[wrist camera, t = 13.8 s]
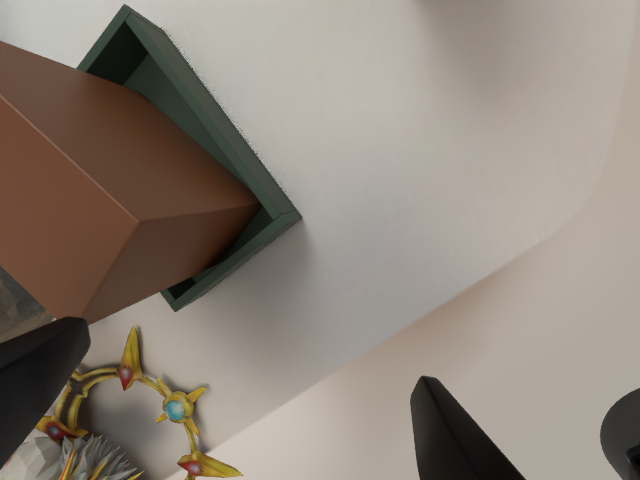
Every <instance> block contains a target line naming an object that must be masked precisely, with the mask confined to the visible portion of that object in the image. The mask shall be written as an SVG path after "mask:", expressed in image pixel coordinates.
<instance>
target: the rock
mask: <svg viewBox="0 0 640 480" xmlns="http://www.w3.org/2000/svg"><path fill="white" fill-rule="evenodd" d="M53 318H54V316H53V315H52V314H51V313H50V312H49V311H48V310H47V309H45V308H44V307H43V306H42V305H41V304H40V303H39V302H38V301H37V300H36V299H35V298H34V297H33V296H32V295H31V294H30V293H29V292H28V291H27V290H26V289H24V288H23V287H22V286H21V285H20V284H19V283H18V282H17V281H16V280H15V279H14V278H13V277H12V276H11V275H10V274H9V273H8V272H7V271H6V270H5V269H4V268H2V267H1V266H0V343H2V342H4V341H7V340H9V339H12V338H14V337H17V336H19V335H21V334H24V333H26V332H29V331H31V330H34V329H36V328H39V327H41V326H44V325H46V324H48V323H50V322H51V320H52V319H53Z"/></svg>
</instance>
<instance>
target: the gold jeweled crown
mask: <svg viewBox="0 0 640 480" xmlns="http://www.w3.org/2000/svg"><path fill="white" fill-rule="evenodd" d="M113 377H119V378H120V379H121V382H122V386H123V390H124V391H125V390H127V389H128V388H129V387H130V386H132V384H133V382H134V380H138V381H140V382H142V383H144V384H146V385H148V386H150V387H151V388H153V389H155V390H157V391H158V392H159V393H160V394H161V395H163V396H164V397H165V400H164V401H163V411H164V413H163V414H162V415H161V416H160V417H159V418H157V419H156V423H158V422H161V421H163V420H165V419H167V418H169V419H170V420H171V421H172V422H175V423H184V426H185V428H186V431H187V434H188V437H189V439H190V447H191V455H185V456H182V458H181V459H180V460H179V461H178V463H177V464H178V465H179V466H181V467H182V468H184V469H185V470H187V471H188V475H187V477H186V478H185V480H195V477H197V476H206V477H222V478H224V477H235V476H243V474H241V473H240V472H239V471H238V470H237V469H235V468H234V467H232V466H229V465H227V464H224V463H222V462H220V461H218V460H216V459H214V458H211V457H209V456H207V455H205V454H203V453H202V452H200V451H199V450H197V448H196V442H195V439H194V435H193V432H194V434H195V435H197V436H199V431H198V429H197V428H196V426H195V424H194V423H193V421H192V420H191V418H189V417H190V416H191V415H192V414H193V408H194V405H193V403H194V402H195V401H196V400H197V399H198V398H199V396H200V395H201V394H202V393H203V392H204V391H205V390H206V388H203V387H200V388H198V389H196V390H195V391H193V392H191V393H189V394H185V393H184V392H180V391H175V392H171V391H170V390H169V389H168V387H167V386H166V385H165V384H164V383H163V381H162V380H160V379H158V378H156V379H157V383H158V385H157V384H156V383H154V382H153V381H151V380H150V379H148V378H147V377H144V376H143V374H142V371H141V368H140V361H139V350H138V340H137V333H136V330H135V327H134V325H133V328H132V330H131V332H130V334H129V336H128V339H127V343H126V347H125V350H124V353H123V357H122V360H121V364H120V367H119V368H100V369H97V370H94V371H92V372H89V373H86V374H81V373H79V372H77V371H74V373H73V374H72V376H71V377H70V379H69V380H68V382H67V383H66V384H67V388H66V389H65V391H64V393H63V395H62V397H61V398H60V400H59V402H58V404H57V406H56V409H55V414H54V415H53V416H43V417H42V419H41V420H40V421H39V422H38V424H37V425H36V426H35V427H34V428H36V429H38V430H40V431H42V432H44V433H46V434H47V435H48V436H49V437H37V438H34V439H32V440H31V441H30V442H27V443H23V444H21V445H20V446H19V447H18V449H17V450H16V451H15V452H14V454H13V455H12V456H11V457H10V459H9V460H8V461H7V462H6V464H5V465H4V466H3V467H2V469H1V470H0V480H123V479H125V478H127V477H128V476H129V475H130V474H131V473H132V472H134V471H135V470H136V469H137V468H135V469H134V468H132V469H128V470H124V469H125V468H126V467H127V466H128V465H129V464H130V463H129V464H127V463H126V461H127V460H126V461H124V462H122V463H120V464H118V462H119V460H120V459H121V458H122V457H123V456H124V455H125V453H124V454H123V455H120V456H117V453H118V450H119V447H120V446H119V447H118V448H117V449H115V450H114V451H113V452H111V453H109V454H108V452H109V450H110V448H111V446H112V444H113V443H114V441H113V442H112V443H110V444H109V445H107V446H106V444H107V441H108V439H107V440H106V441H105V442H104V443H103V444H102V445H101V446H100V444H101V440H102V437H103V434H102V435H101V436H99V437H98V438H96V437H95V438H94V437H93V434H92V436H91V438H90V439H89V440H88V441H87V442H86V441H84V440H83V439H81V438H82V437H83V436H84V435H85V434H87V433H88V431H86V430H84V429H82V428H79V427H77V413H78V409H79V406H80V404H81V401H82V399H83V397H87V395H88V390H89V388H90V387H91V386H93V385H94V384H95V383H96V382H100V381H103V380H106V379H110V378H113ZM192 402H193V403H192ZM192 431H193V432H192ZM108 438H109V437H108ZM107 454H108V455H107ZM116 456H117V457H116ZM118 457H119V458H118ZM117 464H118V465H117ZM125 464H126V465H125ZM144 471H145V470H144ZM144 471H142V472H144ZM142 472H140V473H139V474H137V475H135V476H133V477H131V478H129V479H127V480H134V479H135V478H136V477H138V476H139V475H140V474H141V473H142Z"/></svg>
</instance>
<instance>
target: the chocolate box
mask: <svg viewBox="0 0 640 480" xmlns="http://www.w3.org/2000/svg"><path fill="white" fill-rule="evenodd" d="M262 206H263V205H262V204H261V203H260V201H259V200H258V199H257V197H256V196H255V195H254V193H253V192H252V191H251V190H250V189H249V188H248V187H246V186H245V185H244V184H243V183H242V182H241V181H240V180H239V179H237V178H236V177H235V176H234V175H233V174H232V173H231V172H230V171H228V170H227V169H226V168H225V167H224V166H223V165H222V164H221V163H219V162H218V161H217V160H216V159H215V158H214V157H213V156H212V155H210V154H209V153H208V152H207V151H206V150H205V149H204V148H202V147H201V146H200V145H199V144H198V143H197V142H196V141H195V140H193V139H192V138H191V137H190V136H189V135H188V134H187V133H186V132H184V131H183V130H182V129H181V128H180V127H179V126H178V125H177V124H175V123H174V122H173V121H172V120H171V119H170V118H169V117H168V116H166V115H165V114H164V113H163V112H162V111H161V110H160V109H158V108H157V107H156V106H155V105H154V104H153V103H152V102H151V101H149V100H148V99H147V98H146V97H145V96H144V95H143V94H142V93H140V92H137V91H135V90H132V89H129V88H127V87H124V86H121V85H118V84H116V83H113V82H110V81H108V80H105V79H102V78H99V77H97V76H94V75H91V74H88V73H86V72H83V71H80V70H78V69H75V68H72V67H69V66H67V65H64V64H61V63H59V62H56V61H53V60H50V59H48V58H45V57H42V56H40V55H37V54H34V53H31V52H29V51H26V50H23V49H20V48H18V47H15V46H12V45H10V44H7V43H4V42H1V41H0V266H1V267H2V268H4V269H5V270H6V271H7V272H8V273H9V274H10V275H11V276H12V277H13V278H14V279H15V280H16V281H17V282H18V283H19V284H20V285H21V286H22V287H23V288H24V289H26V290H27V291H28V292H29V293H30V294H31V295H32V296H33V297H34V298H35V299H36V300H37V301H38V302H39V303H40V304H41V305H42V306H43V307H44V308H45V309H47V310H48V311H49V312H50V313H51V314H52V315H53V316H54V317H55V318H56V319H57V320H58V319H61V318H63V317H66V316H73V317H79V318H84V319H85V320H86V321H87V323H88V325H90V324H92V323H94V322H96V321H99V320H101V319H103V318H105V317H107V316H109V315H111V314H113V313H116V312H118V311H120V310H122V309H124V308H126V307H128V306H130V305H133V304H135V303H137V302H139V301H141V300H143V299H145V298H147V297H150V296H152V295H154V294H156V293H158V292H160V291H162V290H164V289H167V288H169V287H171V286H173V285H175V284H177V283H179V282H181V281H184V280H186V279H188V278H190V277H192V276H194V275H196V274H198V273H200V272H203V271H205V270H207V269H209V268H211V267H213V266H215V265H217V264H220V262H221V261H222V260H223V258H224V257H225V256H226V254H227V253H228V252H229V250H230V249H231V248H232V246H233V245H234V244H235V242H236V241H237V240H238V238H239V237H240V236H241V234H242V233H243V232H244V230H245V229H246V228H247V226H248V225H249V224H250V222H251V221H252V220H253V218H254V217H255V216H256V214H257V213H258V212H259V210H260V209H261V208H262Z"/></svg>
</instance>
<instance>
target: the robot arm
mask: <svg viewBox="0 0 640 480" xmlns="http://www.w3.org/2000/svg"><path fill="white" fill-rule="evenodd" d="M90 343H91V340H90V334H89V329H88V323H87V321H86V320H85V319H84V318H79V317H73V316H66V317H63V318H61V319H58V320H56V321H53V322H51V323H48V324H46V325H44V326H41V327H39V328H36V329H34V330H31V331H29V332H26V333H24V334H21V335H19V336H17V337H14V338H12V339H9V340H7V341H4V342H2V343H0V470H1V469H2V467H3V466H4V465H5V464H6V462H7V461H8V460H9V459H10V457H11V456H12V455H13V454H14V452H15V451H16V450H17V449H18V447H19V446H20V445H21V444H22V442H23V441H24V440H25V439H26V437H27V436H28V435H29V434H30V432H31V431H32V430H33V429H34V427H35V426H36V425H37V424H38V422H39V421H40V420H41V419H42V417H43V416H44V415H45V413H46V412H47V411H48V410H49V408H50V407H51V405H52V404H53V403H54V401H55V400H56V398H57V397H58V395H59V394H60V392H61V391H62V389H63V388H64V386H65V385H66V383H67V382H68V380H69V379H70V377H71V376H72V374H73V373H74V371H75V370H76V368H77V367H78V365H79V364H80V362H81V361H82V359H83V358H84V356H85V355H86V353H87V352H88V350H89V347H90ZM410 405H411V414H412V423H413V433H414V442H415V451H416V459H417V466H418V472H419V477H420V480H526V479H525V478H524V477H523V476H522V475H521V473H520V472H519V471H518V470H517V469H516V468H515V467H514V465H512V463H511V462H510V461H509V460H508V459H507V457H506V456H505V455H504V454H503V453H502V452H501V451H500V449H499V448H498V447H497V446H496V445H495V444H494V443H493V442H492V440H491V439H490V438H489V437H488V436H487V435H486V434H485V432H484V431H483V430H482V429H481V428H480V427H479V426H478V424H477V423H476V422H475V421H474V420H473V419H472V418H471V416H470V415H469V414H468V413H467V412H466V411H465V410H464V408H463V407H462V406H461V405H460V404H459V403H458V402H457V400H456V399H455V398H454V397H453V396H452V395H451V394H450V393H449V391H448V390H447V389H446V388H445V387H444V386H443V385H442V383H441V382H440V381H439V380H438V379H437V378H434V377H429V376H421V377H420V379H419V380H418V382H417V384H416V386H415V388H414V390H413V392H412V394H411V399H410ZM625 457H626V459H627V460H628V461H629V463H630V464H631V465H632V467H633V468H634V469H635V471H636V472H637V474H638V475H639V476H640V445H637V446H634V447H631V448H629V449H627V450H626V452H625ZM638 457H639V458H638ZM636 458H637V459H636Z"/></svg>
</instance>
